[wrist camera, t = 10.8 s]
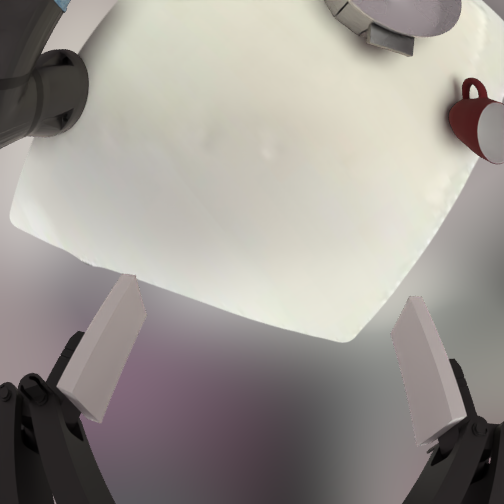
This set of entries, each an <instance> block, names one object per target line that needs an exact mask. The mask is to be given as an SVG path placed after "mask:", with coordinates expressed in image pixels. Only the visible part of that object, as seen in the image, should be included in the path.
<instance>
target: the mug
mask: <svg viewBox="0 0 504 504" xmlns="http://www.w3.org/2000/svg"><path fill="white" fill-rule="evenodd" d="M472 84H473V85H474V86H475V87H476V88H477V90H478V95H479V98H476V99H470V98H469V92H470V87H471V85H472ZM462 96H463V99H462V100H461V101H459V102H457V103H456V104H455V105H454V106H453V107H452V108H451V110H450V112H449V122H450V125H451V127H452V130H453V131H454V133H455V135H456V136H457V137H458V138H459V139H460V140H461V141H462V142H463V143H464V144H465V145H466V146H468V147H469V148H470V149H471V150H472V151H473V152H474V153H476V154H477V155H478V156H480V157H481V158H483V159H485V160H487V161H489V162H491V163H493V164H502V163H504V104H503V103H500V102H497V101H494V100H491V99H489V98H488V97H487V91H486V89H485V87H484V85H483V84H482V83H481V82H480V81H479V80H478V79H475V78H467V79H465V81H464V82H463V85H462Z"/></svg>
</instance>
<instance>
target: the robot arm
mask: <svg viewBox="0 0 504 504" xmlns="http://www.w3.org/2000/svg"><path fill="white" fill-rule="evenodd" d="M70 1H71V0H0V149H1V148H3V147H5V146H7V145H9V144H11V143H13V142H15V141H17V140H19V139H21V138H23V137H26V136H33V137H51V136H55V135H57V134H60V133H62V132H65V131H66V130H68V129H69V128H71V127H72V126H73V125H74V124H75V122H76V121H77V120H78V118H79V117H80V115H81V113H82V111H83V109H84V106H85V103H86V99H87V94H88V75H87V70H86V67H85V65H84V63H83V61H82V59H81V58H80V57H79V56H78V55H77V54H76V53H75V52H73V51H70V50H66V49H61V50H60V49H59V50H51V51H48V52H45V53H44V54H41V53H42V51H43V49H44V46H45V45H46V43H47V41H48V39H49V37H50V35H51V33H52V32H53V29H54V28H55V26H56V24H57V23H58V21H59V19H60V18H61V16H62V14H63V13H65V12H66V10H67V6H68V4H69V2H70ZM146 316H147V314H146V310H145V307H144V304H143V300H142V297H141V293H140V290H139V286H138V282H137V279H136V275H130V274H122V275H121V276H120V278H119V279H118V281H117V282H116V284H115V285H114V287H113V288H112V290H111V291H110V293H109V295H108V296H107V298H106V299H105V301H104V302H103V304H102V306H101V307H100V309H99V310H98V312H97V314H96V316H95V317H94V319H93V321H92V322H91V324H90V326H89V327H88V329H87V331H86V332H81V331H78V332H77V333H75V334H74V335H73V336H72V337H71V338H70V339H69V341H68V343H67V344H66V346H65V349H64V350H63V351H62V353H61V356H60V357H59V358H58V360H57V362H56V364H55V366H54V368H53V369H52V372H51V373H50V375H49V377H48V379H47V381H46V382H45V381H44V380H43V379H42V378H41V377H40V376H39V375H38V374H35V373H30V374H27V375H26V376H24V377H23V378H22V379H21V380H20V383H19V386H18V389H17V388H16V387H15V386H14V385H13V384H12V383H10V382H6V383H3V384H2V385H0V504H54V500H53V496H54V499H55V501H56V504H116V503H115V501H114V500H113V498H112V496H111V494H110V492H109V490H108V488H107V485H106V484H105V481H104V479H103V477H102V475H101V472H100V470H99V468H98V466H97V463H96V461H95V458H94V456H93V453H92V450H91V448H90V445H89V442H88V440H87V437H86V434H85V431H84V428H83V425H82V422H81V420H80V418H79V416H80V414H81V413H82V414H83V415H84V416H85V417H86V418H88V419H90V420H93V421H96V422H98V423H102V420H103V417H104V415H105V412H106V409H107V407H108V404H109V402H110V399H111V397H112V394H113V391H114V389H115V387H116V384H117V382H118V379H119V377H120V375H121V372H122V370H123V368H124V365H125V363H126V361H127V358H128V356H129V354H130V351H131V349H132V347H133V345H134V342H135V340H136V338H137V336H138V334H139V331H140V329H141V327H142V325H143V323H144V321H145V318H146ZM391 338H392V341H393V345H394V348H395V352H396V355H397V359H398V362H399V366H400V370H401V374H402V378H403V382H404V386H405V391H406V395H407V399H408V404H409V409H410V413H411V418H412V423H413V429H414V434H415V440H416V446H421V445H425V444H429V443H432V442H433V441H434V440H436V439H437V438H438V441H439V443H438V444H436V445H435V446H433V447H432V448H430V449H429V450H428V451H427V453H430V452H431V451H433V453H432V454H431V456H430V458H429V461H428V462H427V464H426V466H425V467H424V469H423V471H422V473H421V474H420V476H419V478H418V480H417V481H416V483H415V485H414V486H413V488H412V489H411V491H410V493H409V494H408V496H407V497H406V499H405V500H404V502H403V503H402V504H504V422H502V423H501V424H489V423H487V421H486V420H485V419H484V418H482V417H480V416H477V413H476V411H475V407H474V404H473V401H472V398H471V395H470V392H469V388H468V386H467V383H466V380H465V379H464V374H463V372H462V369H461V367H460V365H459V364H458V363H457V361H456V360H455V359H448V357H447V354H446V352H445V349H444V346H443V344H442V342H441V339H440V336H439V334H438V332H437V329H436V327H435V325H434V322H433V320H432V318H431V315H430V313H429V311H428V309H427V307H426V305H425V302H424V300H423V298H422V297H415V296H409V298H408V300H407V302H406V304H405V307H404V308H403V310H402V312H401V314H400V316H399V318H398V320H397V322H396V324H395V326H394V328H393V330H392V332H391ZM489 458H491V461H490V464H489Z"/></svg>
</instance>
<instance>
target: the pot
mask: <svg viewBox="0 0 504 504" xmlns="http://www.w3.org/2000/svg"><path fill="white" fill-rule="evenodd" d="M324 1H325V2H326V4H327V6H328V7H329V9H330V11H331V13H332V15H333V16H334V17H336V18H335V19H337V20H338V21H340V22H341V23H342V24H344V25H345V26H346V27H348V28H349V29H350V30H352V31H353V32H354V33H355V34H359V36H362V37H366V38H367V44H370V45H374V46H377V47H380V48H384V49H387V50H390V51H393V52H396V53H399V54H402V55H405V56H408V57H410V56H413V46H414V37H410V36H404V35H401V34H397V33H395V32H392V31H390V30H387V29H385V28H383V27H381V26H379V25H377V24H376V23H374V22H372V21H371V20H369V19H368V18H366V17H365V16H364V15H362V14H361V13H360V12H359V11H357V10H356V9H355V8H354V7H353V6H352V5H351V4H350V3H349V2H348V1H347V0H324Z"/></svg>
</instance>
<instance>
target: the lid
mask: <svg viewBox="0 0 504 504" xmlns="http://www.w3.org/2000/svg"><path fill="white" fill-rule="evenodd" d="M347 1H348V2H349V3H350V4H351V5H352V6H353V7H354V8H355V9H356V10H357V11H359V12H360V13H361V14H362V15H364V16H365V17H366V18H368V19H369V20H371V21H372V22H374V23H376V24H377V25H379V26H381V27H383V28H385V29H387V30H390V31H392V32H395V33H397V34H401V35H404V36H410V37H418V38H423V37H431V36H436V35H440V34H443V33H445V32H447V31H449V30H450V29H451V28H452V27H453V26H454V25H455V24H456V23H457V21H458V19H459V16H460V13H461V0H347Z"/></svg>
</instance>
